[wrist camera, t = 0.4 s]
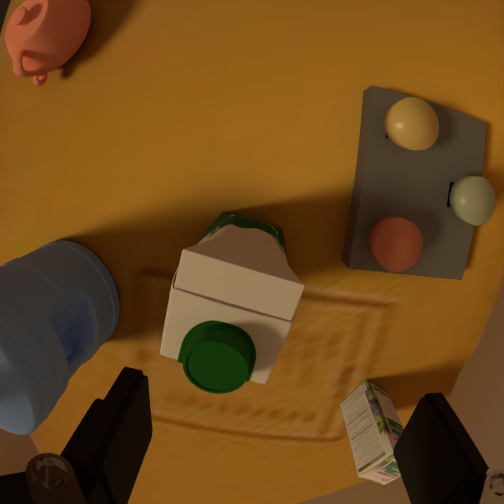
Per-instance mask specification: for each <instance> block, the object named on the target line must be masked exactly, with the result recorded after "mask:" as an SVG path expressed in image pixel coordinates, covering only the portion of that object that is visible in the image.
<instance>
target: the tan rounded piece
mask: <svg viewBox="0 0 504 504" xmlns="http://www.w3.org/2000/svg"><path fill="white" fill-rule="evenodd" d="M384 128H385V132H386V134H387V136H388V138H389V139H390V141H391V142H392V143H393V144H394V145H395V146H397V147H398V148H400V149H402V150H407V151H414V150H425V149H427V148H429V147H431V146H432V145H433V144H434V143H435V141H436V140H437V137H438V134H439V122H438V118H437V115H436V113H435V111H434V110H433V108H432V107H431V106H430V105H429V104H428V103H427V102H425V101H424V100H422V99H419V98H416V97H408V98H405V99H403V100H400V101H398V102H396V103H394V104H392V105H391V106H390V107H389V108H388V109H387V111H386V113H385V116H384Z"/></svg>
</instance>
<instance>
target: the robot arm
mask: <svg viewBox="0 0 504 504" xmlns="http://www.w3.org/2000/svg"><path fill="white" fill-rule="evenodd" d="M151 437H152V421H151V410H150V399H149V385H148V377H147V376H145V375H143V372H142V371H141V370H138V369H133V368H129V367H124V368H123V370H122V371H121V373H120V374H119V376H118V378H117V379H116V381H115V382H114V384H113V386H112V387H111V389H110V391H109V392H108V394H107V395H106V397H105V399H104V400H103V399H99V398H98V399H96V400H95V401H94V402H93V403H92V405H91V407H90V408H89V410H88V411H87V413H86V414H85V416H84V418H83V419H82V421H81V422H80V424H79V425H78V427H77V429H76V430H75V432H74V433H73V435H72V437H71V438H70V440H69V442H68V443H67V445H66V446H65V448H64V450H63V451H62V453H61V455H58V454H53V453H42V454H39V455H36V456H35V457H33V458H31V460H30V461H29V462H28V464H27V467H26V471H25V472H19V473H14V474H9V475H3V476H0V504H127V503H128V500H129V498H130V495H131V492H132V489H133V487H134V484H135V481H136V478H137V476H138V473H139V470H140V467H141V465H142V462H143V459H144V457H145V454H146V451H147V449H148V446H149V443H150V441H151ZM393 454H394V457H395V460H396V463H397V466H398V468H399V471H400V474H401V476H402V479H403V482H404V485H405V488H406V490H407V493H408V496H409V499H410V502H411V504H504V471H501V470H495V471H492V472H490V473H489V474H488V475H487V474H486V471H487V470H488V469H489V468H488V466H487V464H486V462H485V461H484V459H483V457H482V456H481V454H480V452H479V451H478V449H477V447H476V446H475V444H474V442H473V441H472V439H471V437H470V436H469V434H468V433H467V431H466V429H465V428H464V426H463V425H462V423H461V422H460V420H459V418H458V417H457V416H456V414H455V412H454V411H453V409H452V408H451V406H450V405H449V403H448V402H447V400H446V398H445V397H444V395H443V394H442V393H428V394H426V395H424V397H423V398H421V399H420V401H419V403H418V405H417V406H416V408H415V410H414V412H413V414H412V416H411V418H410V420H409V421H408V423H407V425H406V427H405V429H404V430H403V432H402V434H401V436H400V437H399V439H398V441H397V442H396V444H395V446H394V449H393Z"/></svg>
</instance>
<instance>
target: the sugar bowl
mask: <svg viewBox="0 0 504 504" xmlns="http://www.w3.org/2000/svg"><path fill="white" fill-rule="evenodd" d="M90 22H91V9H90V6H89V3H88V2H87V0H26V1H24V2H23V3H22V4H21V5H20V6H19V7H18V8H17V9H16V10H15V12H14V13H13V15H12V16H11V18H10V20H9V22H8V25H7V28H6V33H5V40H6V45H7V48H8V51H9V53H10V55H11V57H12V59H13V69H14V72H15V74H16V75H17V76H19V77H32V76H34V78H33V82H34V84H35V85H37V86H41V85H43V84H44V83H45V81H46V79H47V73H48V72H51V71H53V70H55V69H57V68H59V67H60V66H62V65H63V64H64V63H66V62H67V61H68V60H69V59H70V58H71V57H72V56H73V55H74V54H75V53H76V52H77V50H78V49H79V48H80V46H81V45H82V43H83V41H84V39H85V37H86V35H87V33H88V30H89V26H90Z"/></svg>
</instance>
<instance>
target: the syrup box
mask: <svg viewBox="0 0 504 504" xmlns="http://www.w3.org/2000/svg"><path fill="white" fill-rule="evenodd" d="M340 406H341V409H342V413H343V417H344V421H345V425H346V428H347V433H348V436H349V440H350V444H351V448H352V452H353V456H354V460H355V464H356V468H357V472H358V476H359V477H360V478H365V479H368V480H370V481H373V482H376V483H380V484H383V485H384V484H386V483H389V482H391V481H392V480H394V479H396V478H398V477H399V476H401V474H400V471H399V468H398V466H397V463H396V460H395V457H394V454H393V449H394V446H395V444H396V442H397V441H398V439H399V437H400V436H401V434H402V432H403V430H404V429H403V426H402V424H401V422H400V419H399V417H398V415H397V413H396V410H395V408H394V406H393V404H392V402H391V399H390V397H389V395H388V394H387V393H386V392H384V391H383V390H381V389H380V388H378V387H377V386H375V385H374V384H372V383H370V382H369V381H367V380H366V381H365V382H363V383H362V384H361V385H360V386H359V387H358V388H357V389H356V390H355V391H354V392H353V393H351V394H350V395H349V396H348V397H347V398H346V399H345V400H344V401H343V402H341V403H340Z"/></svg>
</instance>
